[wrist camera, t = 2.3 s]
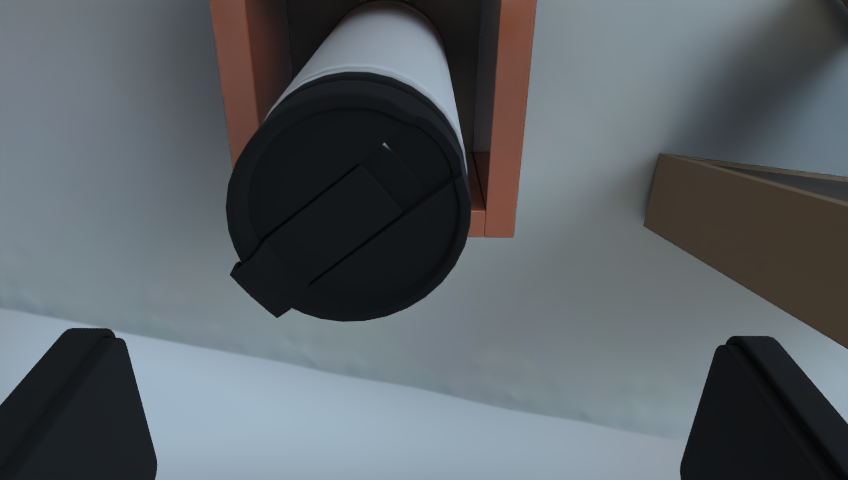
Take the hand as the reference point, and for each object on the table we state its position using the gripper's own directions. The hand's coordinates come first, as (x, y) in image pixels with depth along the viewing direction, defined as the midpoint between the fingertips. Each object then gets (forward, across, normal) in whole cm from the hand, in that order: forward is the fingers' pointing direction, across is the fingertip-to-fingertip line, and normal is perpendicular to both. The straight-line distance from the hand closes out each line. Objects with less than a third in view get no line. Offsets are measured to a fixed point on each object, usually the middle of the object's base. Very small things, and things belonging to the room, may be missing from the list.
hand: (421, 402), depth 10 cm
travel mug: (+26, +2, 0) cm, 26 cm away
